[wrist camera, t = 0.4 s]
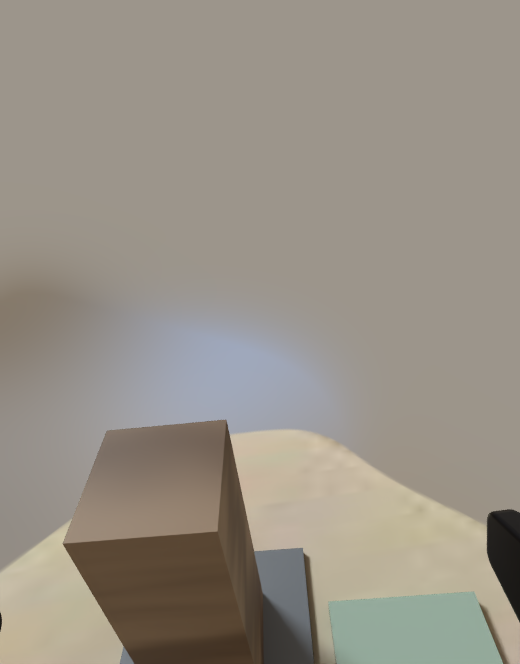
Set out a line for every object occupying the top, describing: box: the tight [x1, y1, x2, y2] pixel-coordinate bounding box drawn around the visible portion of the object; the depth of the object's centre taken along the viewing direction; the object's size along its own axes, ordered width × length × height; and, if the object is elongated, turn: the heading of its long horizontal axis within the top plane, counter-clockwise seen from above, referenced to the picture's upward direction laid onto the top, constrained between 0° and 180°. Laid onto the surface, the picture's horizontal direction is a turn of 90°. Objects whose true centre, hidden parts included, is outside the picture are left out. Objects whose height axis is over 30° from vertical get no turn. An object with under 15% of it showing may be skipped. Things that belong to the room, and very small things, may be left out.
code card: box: [120, 548, 314, 664], centre depth 21 cm, size 9×9×1 cm
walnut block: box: [63, 420, 264, 664], centre depth 18 cm, size 4×4×12 cm
